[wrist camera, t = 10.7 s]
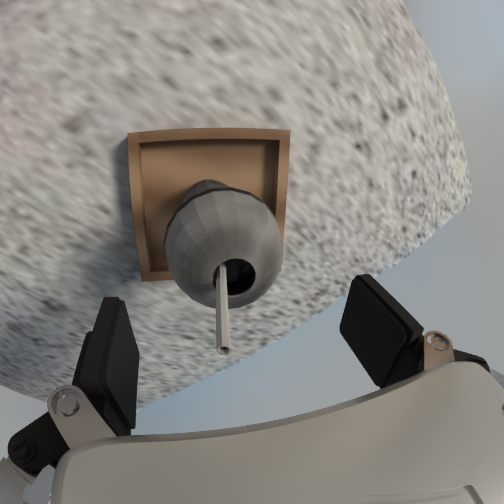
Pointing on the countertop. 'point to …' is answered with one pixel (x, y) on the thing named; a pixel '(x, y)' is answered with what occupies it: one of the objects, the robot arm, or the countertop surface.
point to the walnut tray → (199, 178)
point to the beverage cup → (223, 250)
